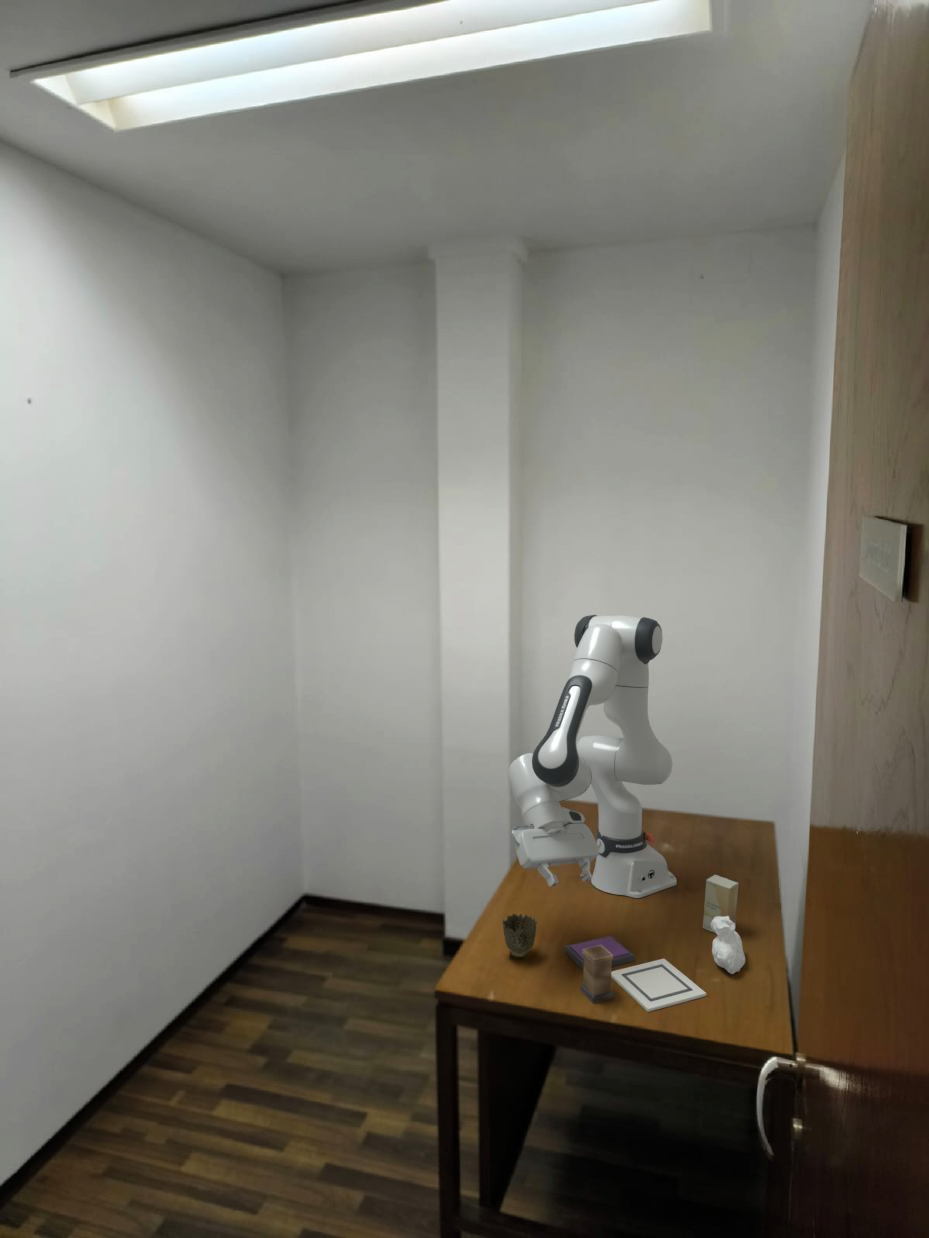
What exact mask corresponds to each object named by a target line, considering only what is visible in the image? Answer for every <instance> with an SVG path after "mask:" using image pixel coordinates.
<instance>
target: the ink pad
mask: <svg viewBox="0 0 929 1238" xmlns="http://www.w3.org/2000/svg"><path fill="white" fill-rule="evenodd" d="M598 945H602V946H603V947H604V948H605V949H607V950H608V951H609V952H610V953H611V954H612V955H613V959H612V966H611V968H612V967H615V966H620V965H623V964H628V963H631V962H635V954H634V953H632V952H631V951H630V949H628V948H626V947H625V946H624V944H622V943H621V942H620V941H618V940H617V939H616V938H615V937H614V936H613V935H606V936H604V937H599V938H598V937H597V938H594V939H590V940H586V941H581V942H577V943H573V944H567V945H564V953H565V954H566V955H567V956H568V957H569V958H570V959H572V961H573V962H575V963H576V965H578V967H579V968H580V969H581V970H583V971H584V954H583V949H585V948H590V947H594V946H598Z"/></svg>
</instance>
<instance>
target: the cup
mask: <svg viewBox="0 0 929 1238" xmlns="http://www.w3.org/2000/svg"><path fill="white" fill-rule="evenodd" d="M537 925H538V921H537V920H536V918H535V917H533V918H532V916H531V915H528V914H527V913H526V914H525V915H524V916H523V914H522V913H519V915H518V914H516V913H512V914H511V915H507V917H506V920H505V918H503V920H502V927H503V935H504V936H503V937H504V941H505V945H506V947H507V948H508V949H509V950H510V954H511V956H512V957H513V958H515V959H519V960H521V959H525V958H527V956H528V955H529V951H530V950H532V947H534V943H535V938H536V932H537Z"/></svg>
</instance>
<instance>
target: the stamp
mask: <svg viewBox="0 0 929 1238" xmlns="http://www.w3.org/2000/svg"><path fill="white" fill-rule="evenodd" d="M583 954H584V970H583V975H582V977H583V979H582V980H583V981H582V983H583V984H580V986H579V987H580V988H579V989H580V992H581V993H582V994H583V996H585V997H586V998H587V999H588V1000H589V1001H590V1002H591V1004H596V1003H600V1002H604V1001H608V1000H611V999H614V996H615V995H614V991H613V990H612V977H611V972H612V967H613V966H612V959H613V955H612V954H611V953H610V952H609V951H608V950H607V949H605V948H604V947H603V946H602V945H598V946H594V947H590V948H585V949H583ZM611 966H612V967H611Z"/></svg>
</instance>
